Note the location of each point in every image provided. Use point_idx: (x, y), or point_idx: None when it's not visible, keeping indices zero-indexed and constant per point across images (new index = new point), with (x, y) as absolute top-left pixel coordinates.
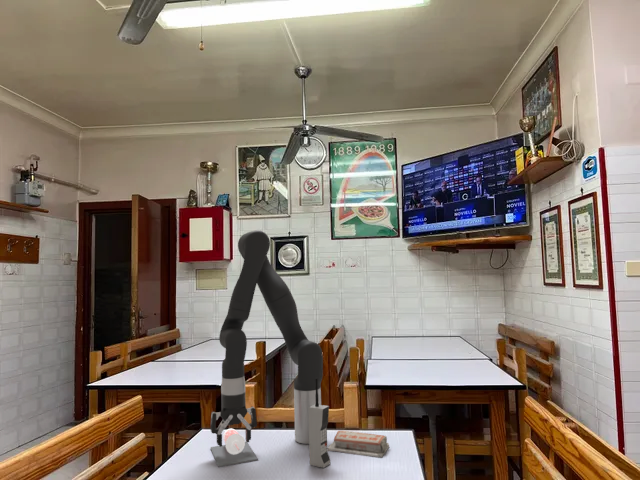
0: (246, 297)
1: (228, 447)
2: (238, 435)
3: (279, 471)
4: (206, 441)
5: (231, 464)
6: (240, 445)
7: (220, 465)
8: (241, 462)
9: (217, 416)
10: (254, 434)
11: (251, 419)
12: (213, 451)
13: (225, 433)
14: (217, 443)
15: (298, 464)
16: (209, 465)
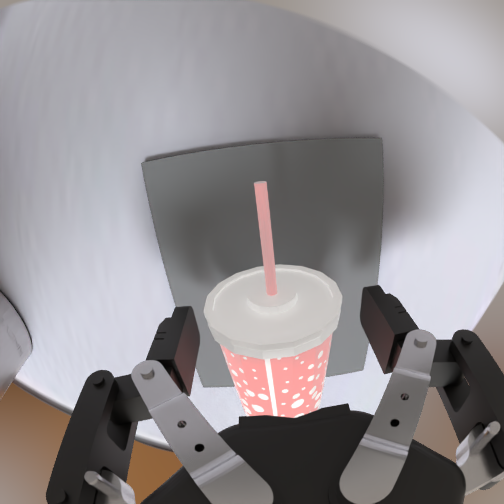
0: None
1: (318, 285)
2: (250, 338)
3: (73, 16)
4: None
5: (306, 140)
6: (237, 295)
7: (369, 138)
8: (243, 146)
9: (481, 454)
10: None
11: (127, 443)
12: None
13: (316, 409)
14: (397, 299)
15: (2, 88)
16: (412, 183)
